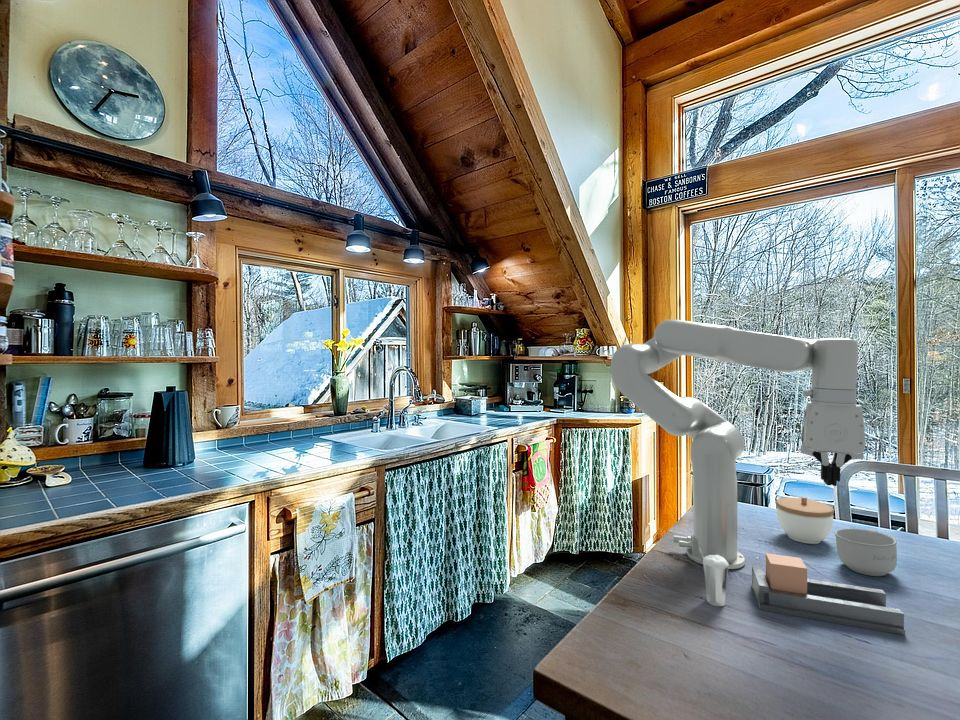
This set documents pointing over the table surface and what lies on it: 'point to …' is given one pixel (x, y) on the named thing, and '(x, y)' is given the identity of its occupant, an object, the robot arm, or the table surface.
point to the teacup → (867, 551)
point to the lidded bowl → (805, 519)
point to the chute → (831, 604)
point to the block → (786, 573)
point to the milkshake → (715, 578)
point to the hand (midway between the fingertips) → (830, 483)
